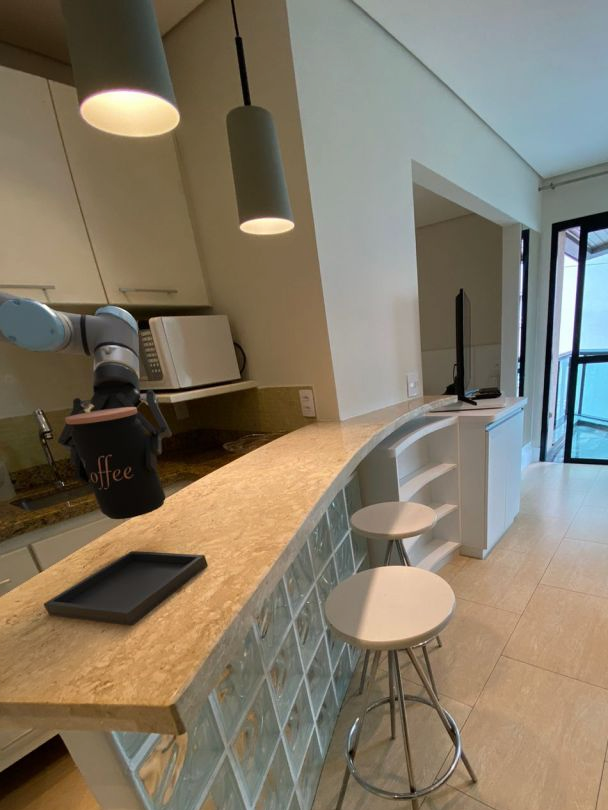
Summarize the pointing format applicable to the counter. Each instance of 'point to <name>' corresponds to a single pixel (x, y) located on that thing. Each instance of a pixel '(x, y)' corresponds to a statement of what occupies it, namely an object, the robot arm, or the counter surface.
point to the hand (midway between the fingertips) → (117, 475)
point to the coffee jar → (116, 461)
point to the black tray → (127, 587)
